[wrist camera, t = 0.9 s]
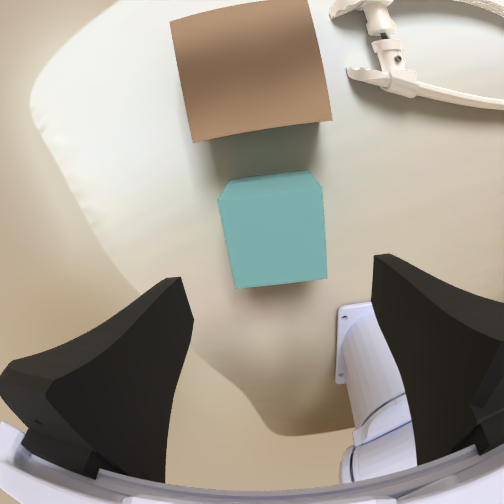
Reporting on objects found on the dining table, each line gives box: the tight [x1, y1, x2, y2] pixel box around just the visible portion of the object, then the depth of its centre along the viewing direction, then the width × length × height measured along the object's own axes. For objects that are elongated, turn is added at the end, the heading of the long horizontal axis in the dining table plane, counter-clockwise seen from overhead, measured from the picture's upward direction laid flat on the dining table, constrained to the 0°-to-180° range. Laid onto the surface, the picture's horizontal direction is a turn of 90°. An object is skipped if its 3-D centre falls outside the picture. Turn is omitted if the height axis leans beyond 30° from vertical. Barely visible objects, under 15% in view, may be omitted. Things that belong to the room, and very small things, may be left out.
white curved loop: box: [329, 0, 504, 110], centre depth 11 cm, size 3×10×25 cm
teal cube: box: [217, 170, 327, 289], centre depth 17 cm, size 5×5×5 cm
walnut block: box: [170, 0, 333, 143], centre depth 14 cm, size 7×7×4 cm
